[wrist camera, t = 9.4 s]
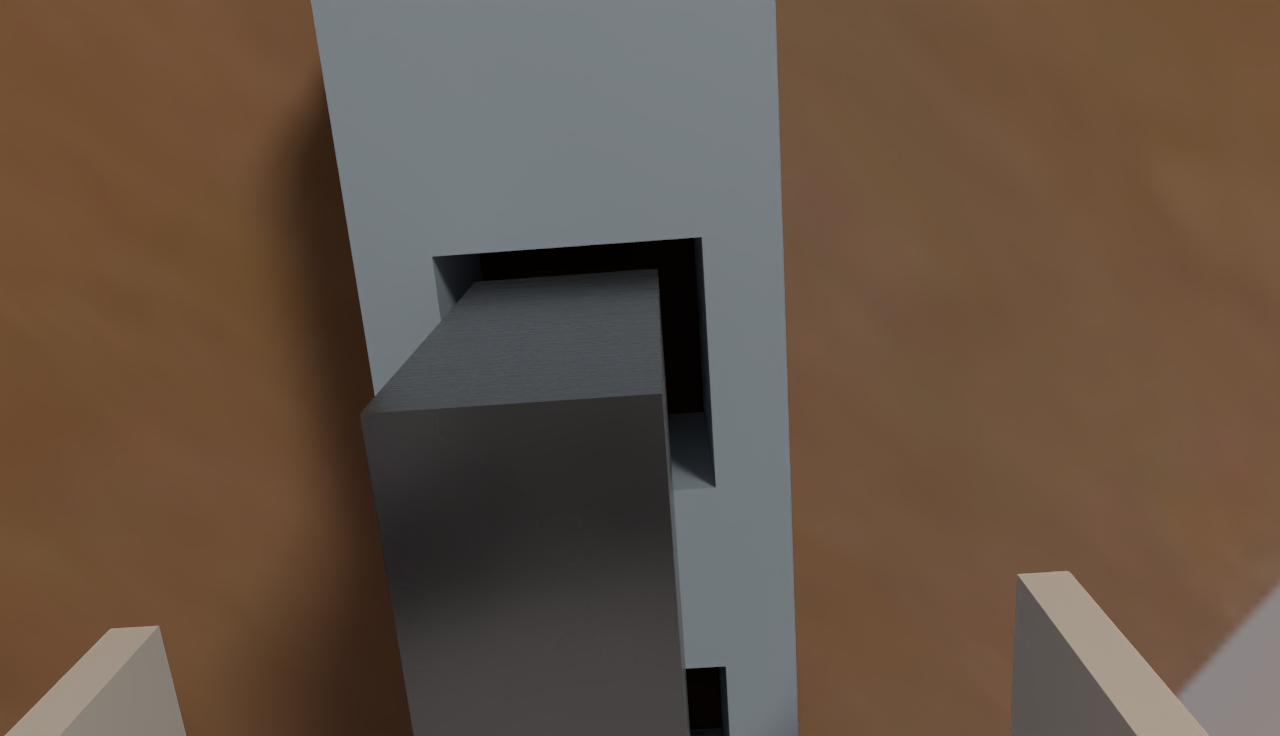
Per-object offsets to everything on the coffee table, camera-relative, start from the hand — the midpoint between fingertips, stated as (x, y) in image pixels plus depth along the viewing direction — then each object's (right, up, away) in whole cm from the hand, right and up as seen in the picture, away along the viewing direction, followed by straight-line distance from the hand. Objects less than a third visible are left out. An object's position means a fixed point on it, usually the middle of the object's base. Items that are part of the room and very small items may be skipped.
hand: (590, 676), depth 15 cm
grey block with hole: (0, +2, +6) cm, 7 cm away
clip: (0, +2, +6) cm, 6 cm away
